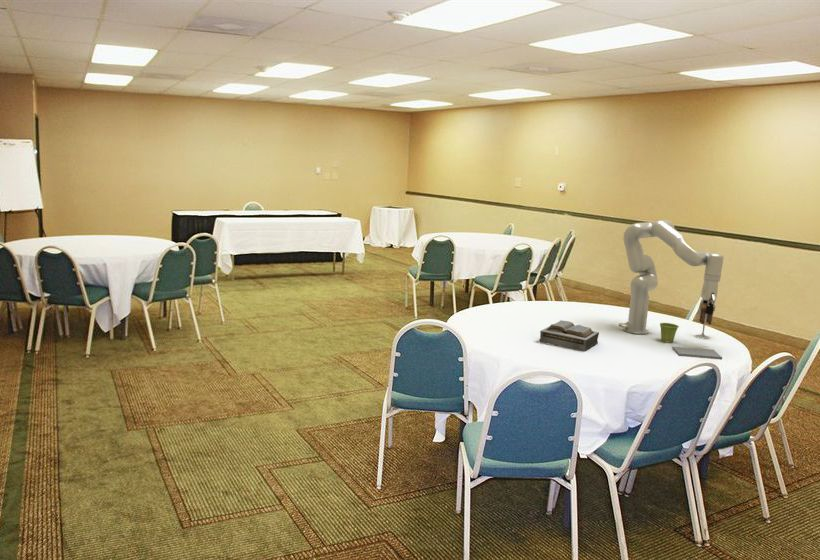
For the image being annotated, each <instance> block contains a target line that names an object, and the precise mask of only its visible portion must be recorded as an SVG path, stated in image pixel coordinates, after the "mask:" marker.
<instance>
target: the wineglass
mask: <svg viewBox="0 0 820 560" xmlns="http://www.w3.org/2000/svg"><path fill="white" fill-rule="evenodd" d="M710 300H711V299H710ZM702 301H703V298H702V297H701V300H700V302H699V304H698V305H699V306H698V311H697V312H698V316H699V317H700V313H701V309H700V304H701V303H702ZM703 303H704V302H703ZM714 312H715V311H713V314H714ZM706 320H707V314H706V315H705V322H704V324H702V333H701V334H696V335H695V337H696V338H698V337H699V339H702V338H704V340H709V339H710V336H707V335H705V327H706V323H707V322H706Z"/></svg>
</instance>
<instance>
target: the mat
mask: <svg viewBox="0 0 820 560" xmlns="http://www.w3.org/2000/svg"><path fill="white" fill-rule="evenodd" d="M672 348H673V349H672ZM671 349H672V350H673V351H674V353H676V354H677V355H678V356H679V357H689V356H690V357H689V358H705V359H717V360H723V357H722V355H720V354H719V353H718V352H717V351H716V350H715V349H707V348H699V347H698V348H695V347H684V346H674V345H673V346H671Z"/></svg>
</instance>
